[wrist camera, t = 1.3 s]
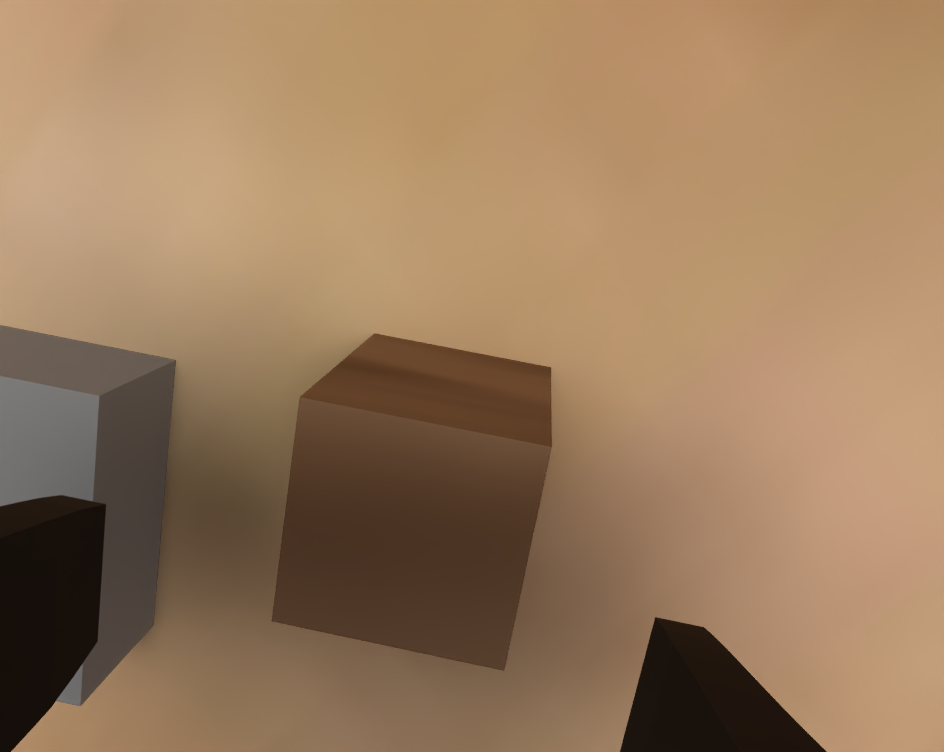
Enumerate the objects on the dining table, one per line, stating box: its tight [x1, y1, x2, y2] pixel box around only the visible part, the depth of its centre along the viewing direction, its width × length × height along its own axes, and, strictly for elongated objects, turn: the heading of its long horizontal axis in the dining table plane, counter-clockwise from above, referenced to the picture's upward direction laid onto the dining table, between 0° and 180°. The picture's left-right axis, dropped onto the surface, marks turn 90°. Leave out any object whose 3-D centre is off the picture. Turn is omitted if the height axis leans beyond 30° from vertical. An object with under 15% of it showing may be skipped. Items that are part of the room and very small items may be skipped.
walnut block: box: [272, 334, 552, 670], centre depth 15 cm, size 4×4×6 cm
